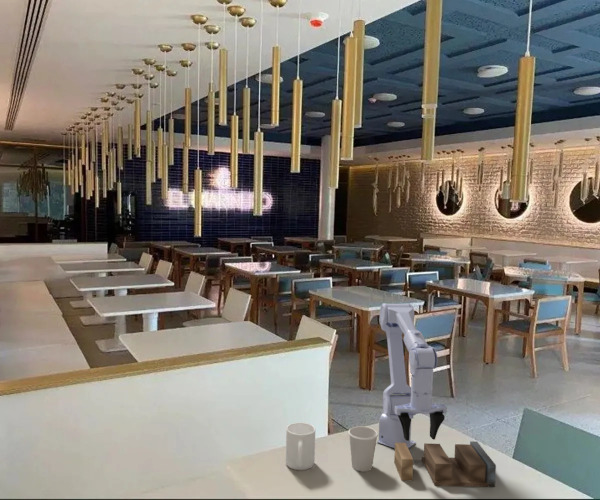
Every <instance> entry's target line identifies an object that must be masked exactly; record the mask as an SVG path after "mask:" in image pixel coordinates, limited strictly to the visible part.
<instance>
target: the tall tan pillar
mask: <svg viewBox="0 0 600 500" xmlns="http://www.w3.org/2000/svg"><path fill="white" fill-rule="evenodd" d="M393 462H394V465H395V468H396V470H397V473H398V477H399V478H400V481H407V482H409V481H410V482H411V481H413V476H414V475H413V472H414V458H413V456H412V454H411V451H410V448H408V447H407V445H406V443H395V448H394V458H393Z"/></svg>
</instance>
